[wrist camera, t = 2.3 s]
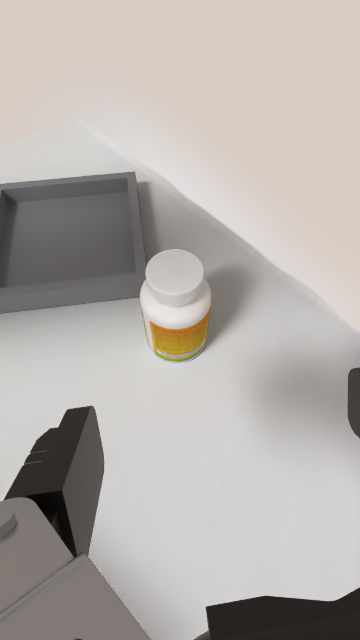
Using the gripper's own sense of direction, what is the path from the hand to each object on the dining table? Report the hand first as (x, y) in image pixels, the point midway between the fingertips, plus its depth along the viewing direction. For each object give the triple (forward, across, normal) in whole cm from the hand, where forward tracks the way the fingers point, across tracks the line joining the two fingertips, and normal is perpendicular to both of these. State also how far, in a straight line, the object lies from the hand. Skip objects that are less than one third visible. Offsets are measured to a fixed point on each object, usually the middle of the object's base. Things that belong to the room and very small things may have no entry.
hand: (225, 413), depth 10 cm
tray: (+29, +10, -6) cm, 32 cm away
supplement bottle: (+20, 0, +4) cm, 21 cm away
